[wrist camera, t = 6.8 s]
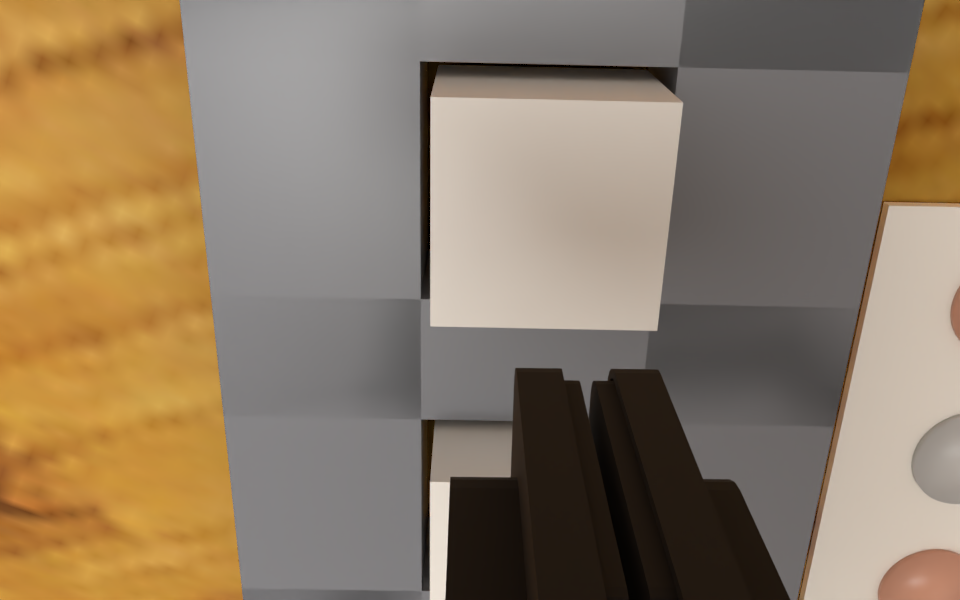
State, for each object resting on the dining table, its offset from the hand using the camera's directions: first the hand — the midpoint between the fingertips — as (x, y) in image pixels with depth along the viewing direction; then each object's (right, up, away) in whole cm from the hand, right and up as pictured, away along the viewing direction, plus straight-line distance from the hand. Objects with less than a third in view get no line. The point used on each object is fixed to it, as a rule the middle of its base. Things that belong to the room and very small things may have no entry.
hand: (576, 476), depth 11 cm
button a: (0, +5, +9) cm, 10 cm away
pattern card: (+12, -2, +14) cm, 18 cm away
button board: (0, -2, +13) cm, 14 cm away
